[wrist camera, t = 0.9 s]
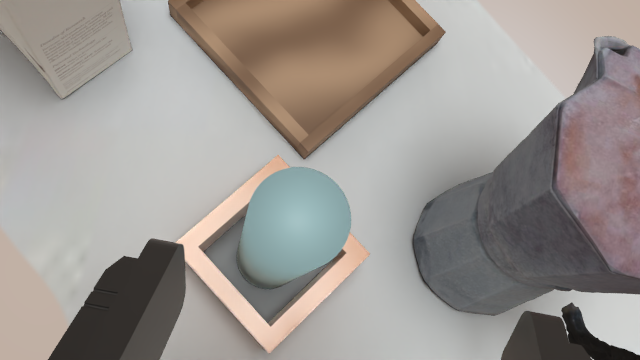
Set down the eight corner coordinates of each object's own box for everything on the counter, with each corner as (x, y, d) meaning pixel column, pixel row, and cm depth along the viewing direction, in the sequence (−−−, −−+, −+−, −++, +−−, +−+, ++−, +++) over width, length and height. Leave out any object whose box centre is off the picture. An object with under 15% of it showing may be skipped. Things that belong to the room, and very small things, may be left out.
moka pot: (506, 134, 41) (760, -27, 21) (574, 348, 38) (940, 383, 18) (384, 159, 38) (545, 4, 19) (446, 387, 36) (708, 472, 16)
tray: (170, 15, 38) (167, 1, 37) (312, -85, 42) (316, -103, 40) (304, 159, 37) (308, 151, 36) (436, 43, 41) (445, 31, 40)
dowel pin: (223, 255, 35) (224, 213, 21) (270, 213, 36) (302, 146, 22) (266, 302, 35) (297, 293, 20) (311, 258, 36) (371, 221, 22)
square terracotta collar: (177, 253, 35) (172, 245, 31) (272, 171, 37) (278, 154, 33) (264, 349, 34) (269, 353, 30) (354, 260, 36) (370, 254, 33)
